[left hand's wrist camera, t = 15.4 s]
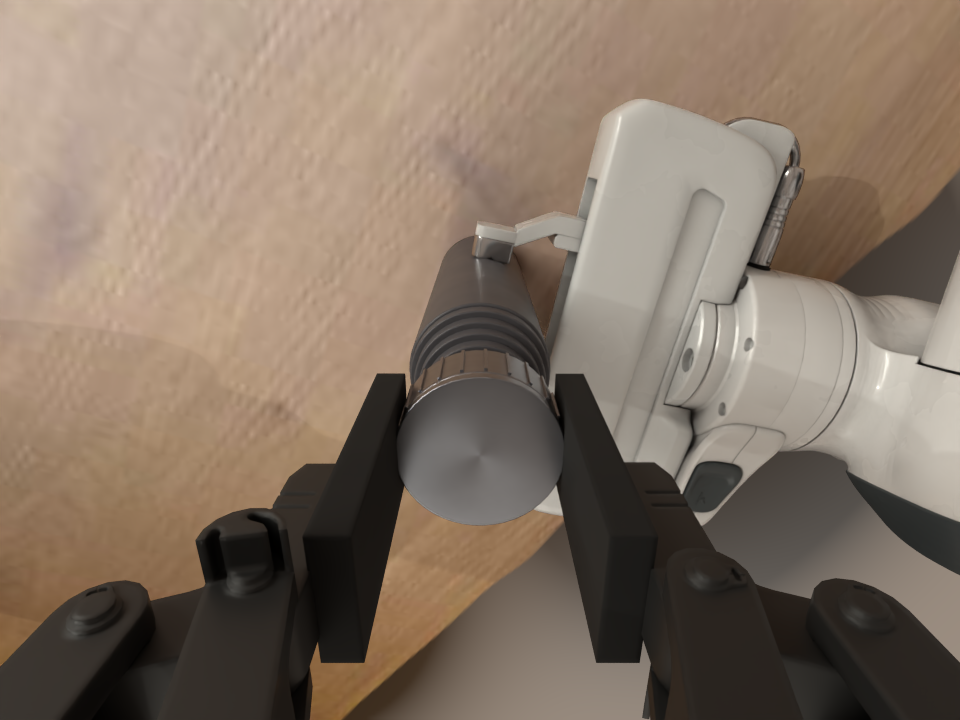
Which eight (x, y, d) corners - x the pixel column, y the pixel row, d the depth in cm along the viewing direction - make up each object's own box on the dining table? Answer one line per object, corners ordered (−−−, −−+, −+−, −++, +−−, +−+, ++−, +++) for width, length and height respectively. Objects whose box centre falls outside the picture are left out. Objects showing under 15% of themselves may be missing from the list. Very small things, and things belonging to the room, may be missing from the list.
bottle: (535, 261, 31) (612, 414, 13) (494, 328, 33) (512, 548, 15) (464, 219, 30) (442, 322, 12) (425, 290, 32) (354, 475, 14)
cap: (429, 325, 14) (421, 350, 12) (582, 376, 14) (596, 407, 13) (384, 460, 15) (372, 500, 13) (524, 502, 16) (530, 545, 14)
